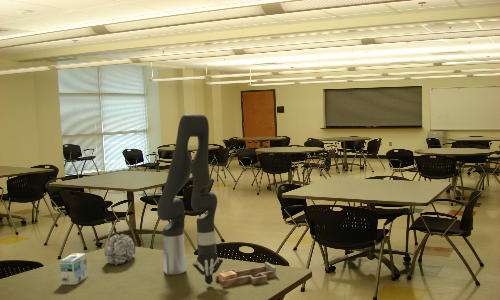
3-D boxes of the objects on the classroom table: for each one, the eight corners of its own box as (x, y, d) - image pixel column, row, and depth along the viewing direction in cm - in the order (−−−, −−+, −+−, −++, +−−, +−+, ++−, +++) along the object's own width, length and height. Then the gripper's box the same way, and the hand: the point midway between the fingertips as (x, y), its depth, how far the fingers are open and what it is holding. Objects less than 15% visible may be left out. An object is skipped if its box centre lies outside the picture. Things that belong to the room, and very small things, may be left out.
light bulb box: (75, 285, 199) (73, 260, 198) (61, 284, 200) (59, 260, 199) (88, 276, 209) (86, 253, 208) (75, 276, 211) (73, 252, 210)
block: (224, 286, 190) (223, 276, 190) (219, 282, 194) (218, 273, 194) (237, 283, 193) (236, 273, 192) (231, 279, 197) (231, 270, 197)
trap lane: (225, 290, 185) (225, 280, 184) (212, 278, 199) (212, 269, 199) (280, 279, 194) (279, 269, 194) (263, 268, 209) (263, 259, 208)
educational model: (137, 269, 235) (140, 239, 240) (127, 263, 216) (130, 230, 222) (110, 269, 235) (113, 239, 241) (97, 263, 217) (101, 230, 222)
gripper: (218, 237, 195) (221, 277, 196) (188, 242, 190) (190, 283, 191) (225, 241, 188) (227, 283, 189) (193, 246, 183) (196, 289, 184)
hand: (208, 283), depth 190 cm, fingers closed
